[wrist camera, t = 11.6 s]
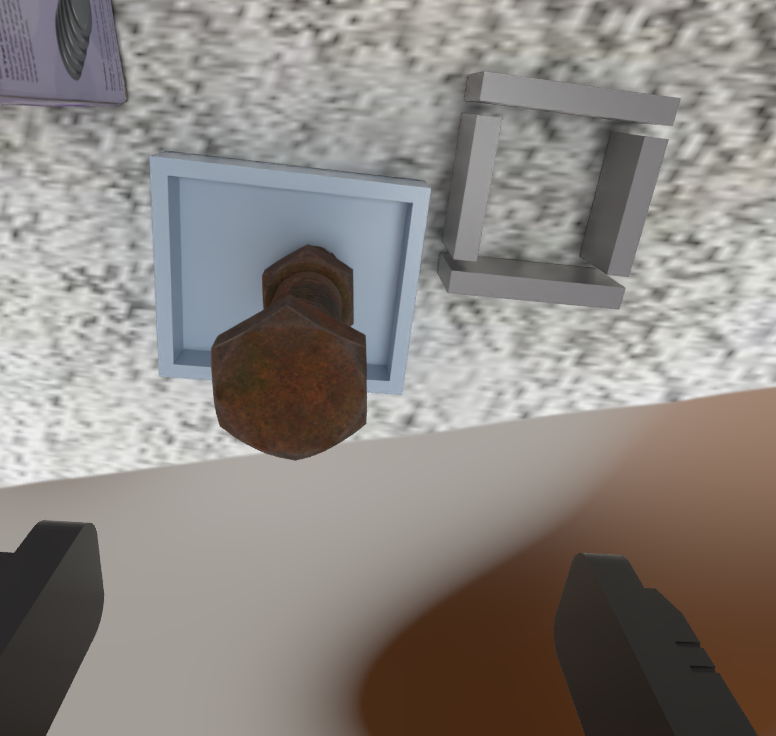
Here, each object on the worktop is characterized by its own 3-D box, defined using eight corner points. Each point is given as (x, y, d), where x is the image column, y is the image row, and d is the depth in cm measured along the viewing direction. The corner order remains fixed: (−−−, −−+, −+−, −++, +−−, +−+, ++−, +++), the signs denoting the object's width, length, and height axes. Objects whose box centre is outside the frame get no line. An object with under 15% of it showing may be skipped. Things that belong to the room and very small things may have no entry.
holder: (641, 98, 31) (680, 98, 28) (591, 287, 35) (619, 309, 32) (467, 74, 30) (484, 71, 27) (437, 272, 34) (448, 293, 31)
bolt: (247, 285, 33) (176, 413, 20) (288, 206, 32) (242, 286, 18) (338, 333, 35) (331, 483, 21) (381, 260, 33) (405, 371, 19)
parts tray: (423, 180, 32) (431, 188, 30) (397, 373, 37) (401, 394, 34) (166, 150, 31) (149, 155, 28) (173, 355, 35) (159, 376, 33)
